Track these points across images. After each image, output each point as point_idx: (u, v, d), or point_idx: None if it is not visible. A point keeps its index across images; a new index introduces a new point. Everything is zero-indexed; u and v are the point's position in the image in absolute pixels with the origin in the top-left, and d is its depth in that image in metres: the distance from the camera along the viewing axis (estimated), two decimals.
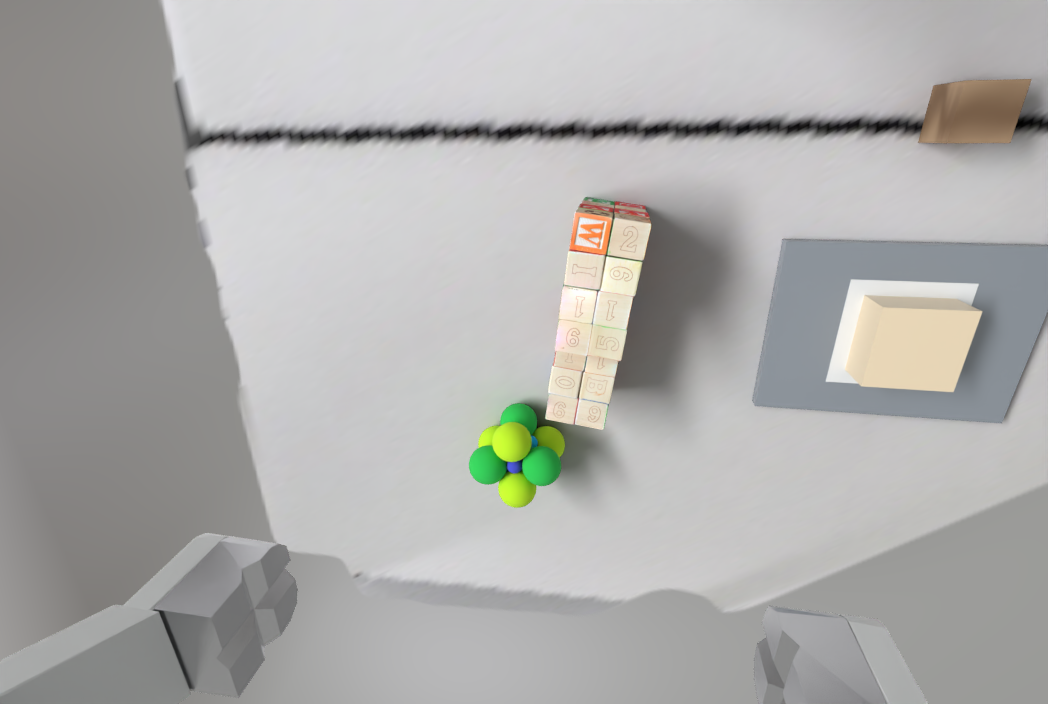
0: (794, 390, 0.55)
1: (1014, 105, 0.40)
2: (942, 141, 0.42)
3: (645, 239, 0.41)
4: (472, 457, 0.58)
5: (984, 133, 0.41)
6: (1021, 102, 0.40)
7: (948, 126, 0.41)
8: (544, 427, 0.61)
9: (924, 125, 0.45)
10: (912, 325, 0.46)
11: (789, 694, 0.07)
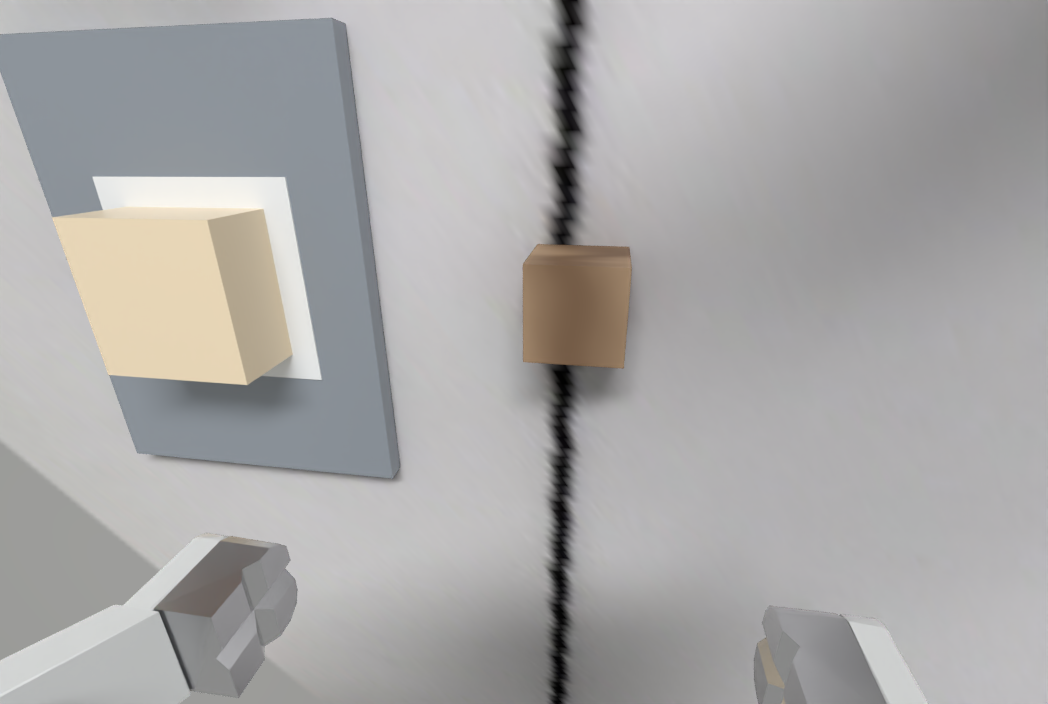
0: (53, 117, 0.26)
1: (582, 354, 0.23)
2: (528, 260, 0.22)
3: None
4: None
5: (538, 321, 0.22)
6: (587, 362, 0.23)
7: (552, 262, 0.22)
8: None
9: (564, 246, 0.25)
10: (192, 282, 0.24)
11: (789, 694, 0.07)
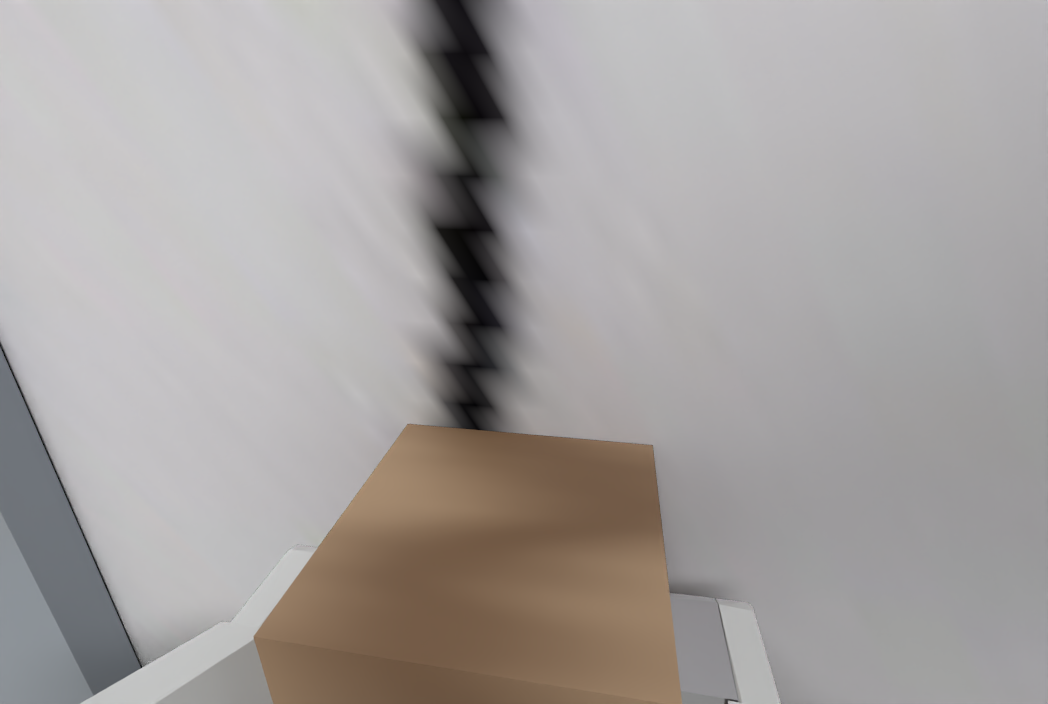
0: None
1: None
2: (300, 585, 0.06)
3: None
4: None
5: None
6: None
7: (376, 617, 0.06)
8: None
9: (474, 440, 0.09)
10: None
11: None
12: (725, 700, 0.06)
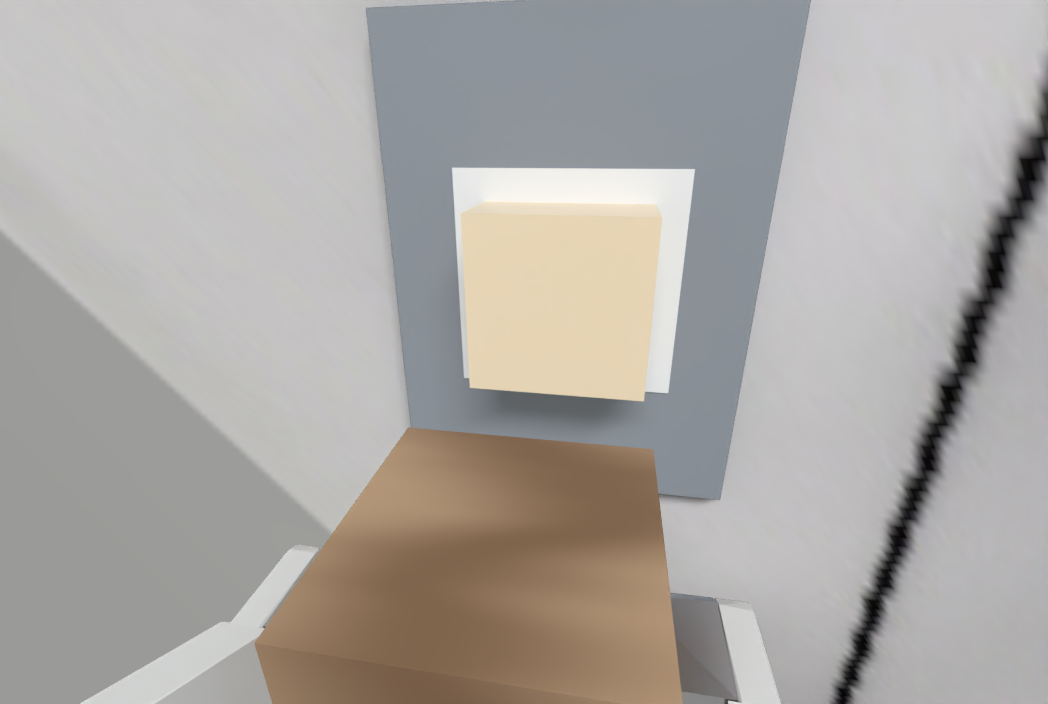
0: (421, 101, 0.23)
1: None
2: (301, 591, 0.06)
3: None
4: None
5: None
6: None
7: (377, 624, 0.06)
8: None
9: (474, 444, 0.09)
10: (616, 287, 0.21)
11: None
12: (725, 700, 0.06)
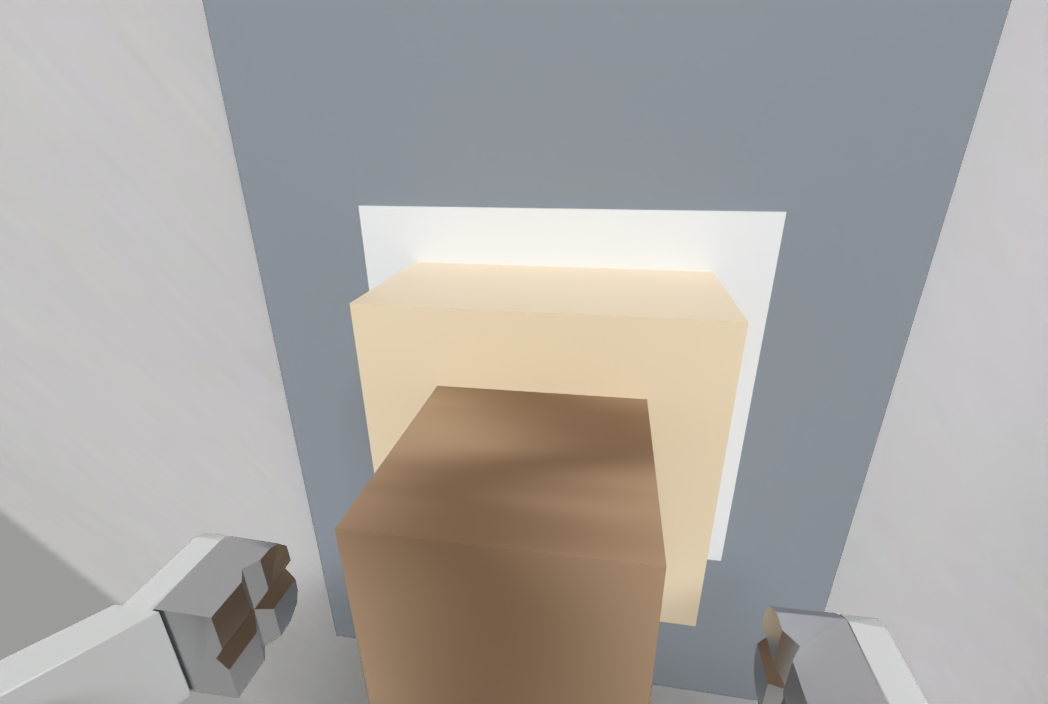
0: (298, 91, 0.13)
1: None
2: (365, 497, 0.08)
3: None
4: None
5: (400, 659, 0.08)
6: None
7: (428, 516, 0.07)
8: None
9: (495, 397, 0.11)
10: None
11: (789, 694, 0.07)
12: None
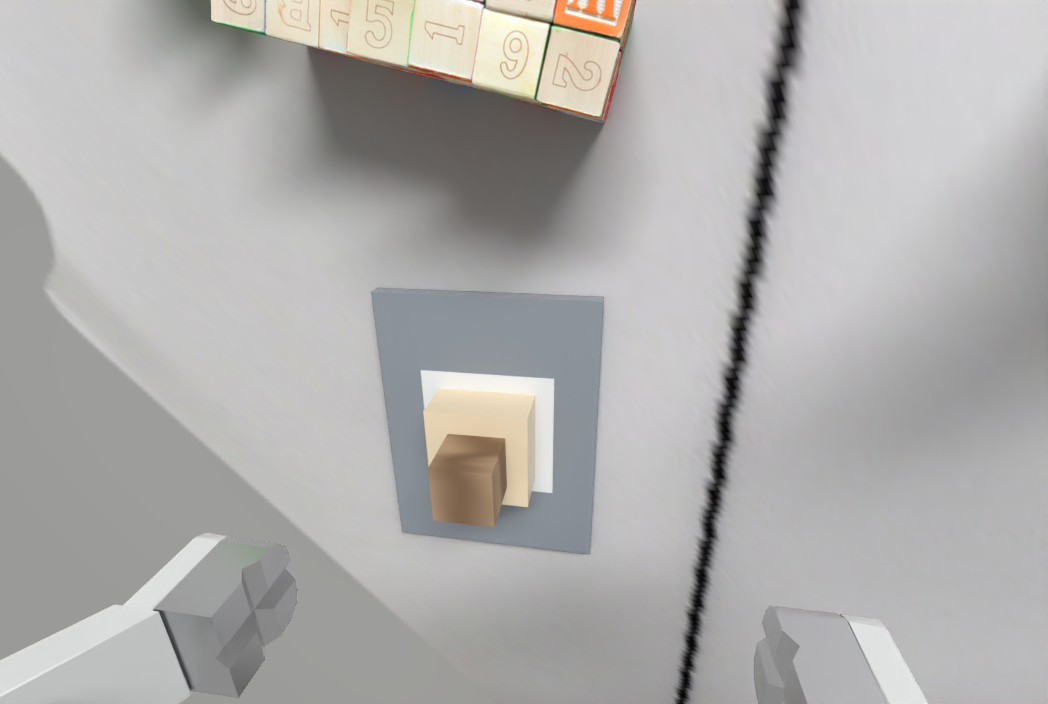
0: (402, 337, 0.41)
1: (469, 518, 0.36)
2: (432, 462, 0.36)
3: (574, 105, 0.23)
4: None
5: (440, 499, 0.36)
6: (472, 523, 0.36)
7: (446, 466, 0.35)
8: None
9: (463, 437, 0.39)
10: (507, 450, 0.39)
11: (789, 694, 0.07)
12: None
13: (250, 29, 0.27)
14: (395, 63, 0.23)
